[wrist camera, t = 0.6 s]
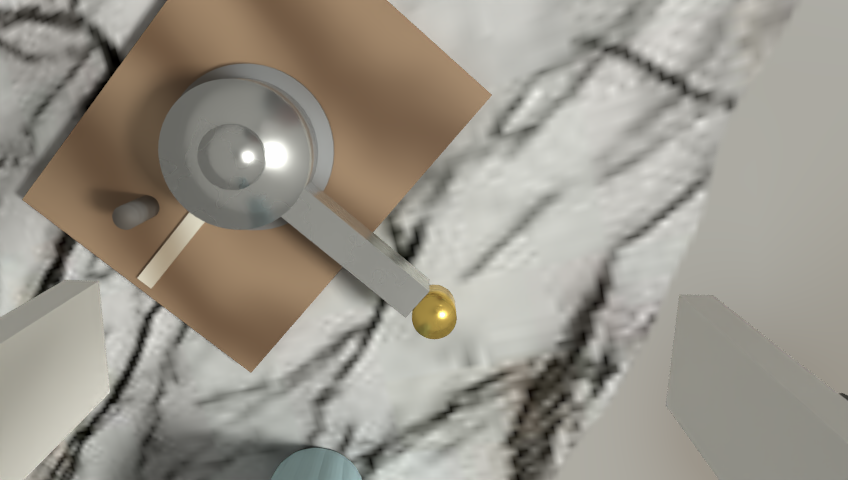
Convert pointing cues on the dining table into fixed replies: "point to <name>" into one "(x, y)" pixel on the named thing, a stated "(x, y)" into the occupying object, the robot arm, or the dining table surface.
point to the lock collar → (281, 187)
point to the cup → (316, 466)
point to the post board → (336, 136)
